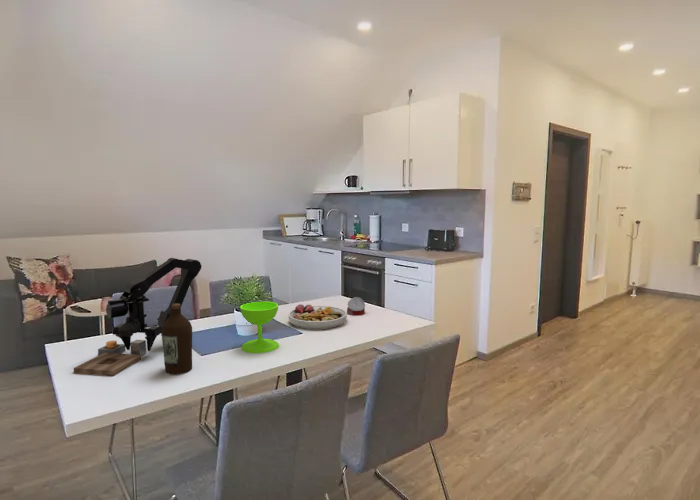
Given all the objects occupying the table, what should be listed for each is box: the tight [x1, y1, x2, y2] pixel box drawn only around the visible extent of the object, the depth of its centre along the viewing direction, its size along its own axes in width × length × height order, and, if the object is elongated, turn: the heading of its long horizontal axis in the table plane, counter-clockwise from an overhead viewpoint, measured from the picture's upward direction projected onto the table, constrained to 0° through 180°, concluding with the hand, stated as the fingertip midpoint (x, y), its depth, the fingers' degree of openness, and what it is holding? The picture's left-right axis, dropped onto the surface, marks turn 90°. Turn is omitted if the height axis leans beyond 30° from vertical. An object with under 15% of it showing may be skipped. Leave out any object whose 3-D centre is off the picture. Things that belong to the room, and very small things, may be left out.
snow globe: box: [346, 296, 366, 317], centre depth 239 cm, size 11×10×10 cm
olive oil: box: [160, 303, 193, 376], centre depth 159 cm, size 11×11×25 cm
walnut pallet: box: [73, 353, 142, 377], centre depth 164 cm, size 16×16×2 cm
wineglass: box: [239, 300, 280, 354], centre depth 184 cm, size 16×16×18 cm
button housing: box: [97, 343, 127, 356], centre depth 177 cm, size 7×7×3 cm
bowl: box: [288, 303, 348, 330], centre depth 222 cm, size 30×30×8 cm
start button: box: [105, 340, 118, 349], centre depth 176 cm, size 4×4×3 cm
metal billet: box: [130, 339, 147, 358], centre depth 175 cm, size 4×4×6 cm
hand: (138, 350), depth 175 cm, fingers open, 9 cm apart
